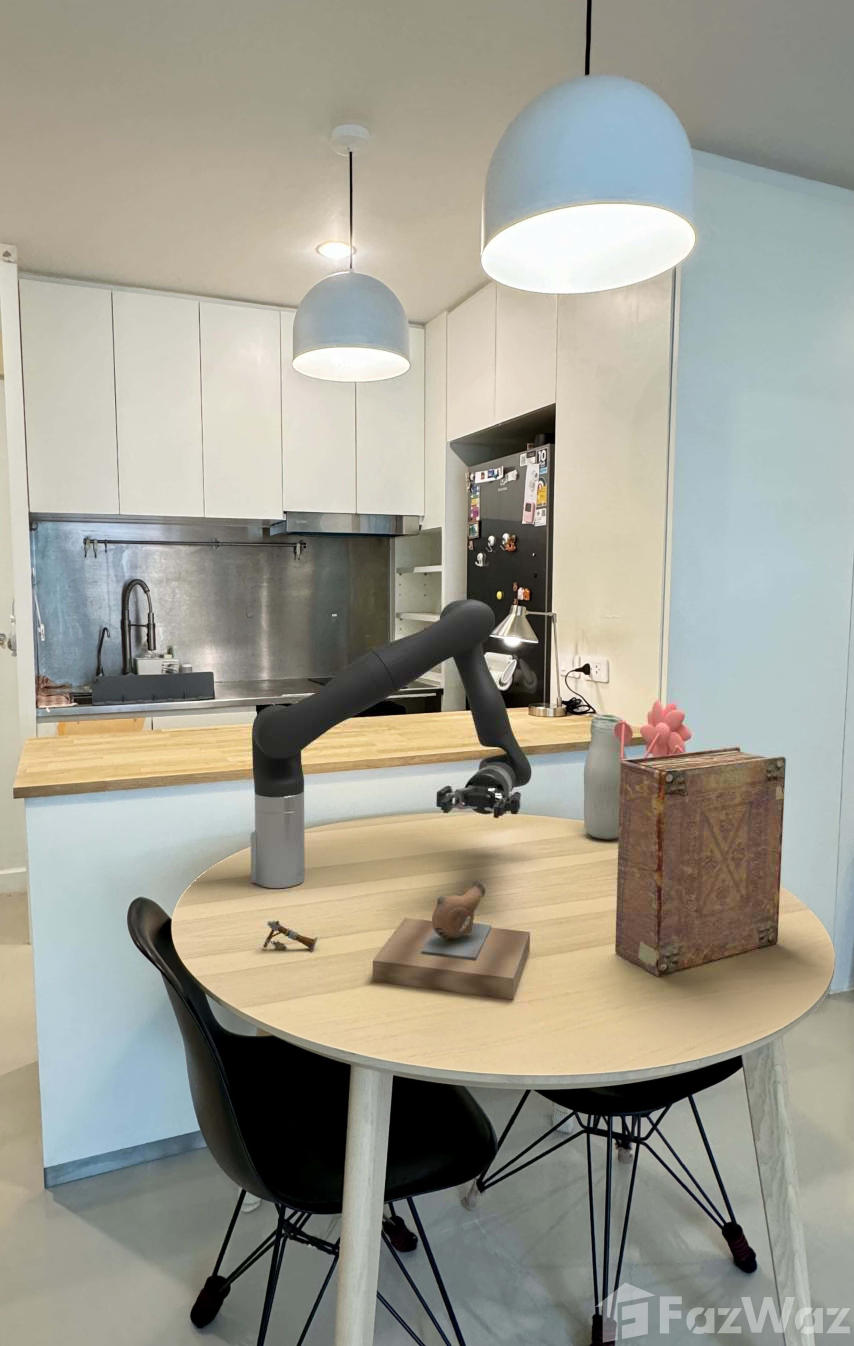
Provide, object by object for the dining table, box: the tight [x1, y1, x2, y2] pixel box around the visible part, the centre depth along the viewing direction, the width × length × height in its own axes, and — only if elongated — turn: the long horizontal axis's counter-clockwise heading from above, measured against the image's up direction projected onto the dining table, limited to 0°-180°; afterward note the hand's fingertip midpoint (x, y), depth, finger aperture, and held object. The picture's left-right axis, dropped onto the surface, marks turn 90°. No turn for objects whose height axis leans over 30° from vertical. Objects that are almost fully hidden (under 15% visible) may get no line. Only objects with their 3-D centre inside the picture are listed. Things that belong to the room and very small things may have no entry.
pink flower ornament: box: [614, 699, 692, 761], centre depth 156 cm, size 15×26×35 cm, turn 25°
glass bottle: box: [583, 714, 628, 840], centre depth 185 cm, size 10×10×28 cm
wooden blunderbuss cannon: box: [263, 920, 319, 953], centre depth 127 cm, size 2×8×4 cm, turn 90°
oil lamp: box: [431, 881, 486, 939], centre depth 123 cm, size 9×4×8 cm, turn 119°
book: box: [614, 746, 787, 978], centre depth 127 cm, size 25×9×30 cm, turn 118°
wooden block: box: [372, 917, 531, 1001], centre depth 122 cm, size 20×16×3 cm
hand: (470, 809), depth 137 cm, fingers open, 8 cm apart
